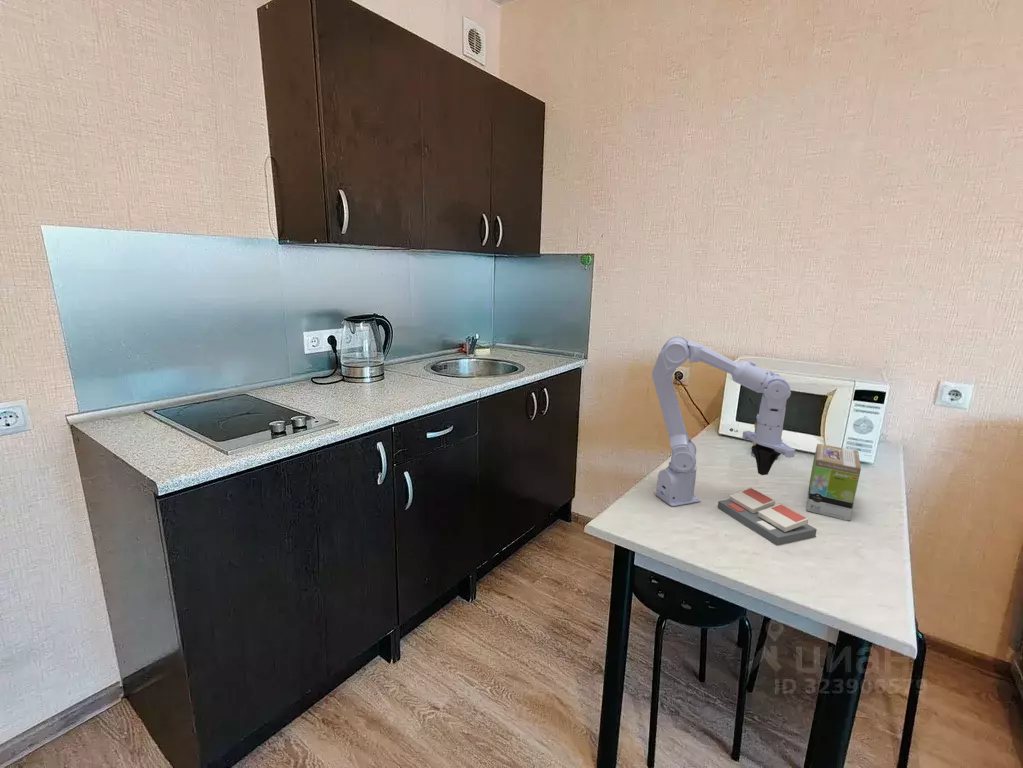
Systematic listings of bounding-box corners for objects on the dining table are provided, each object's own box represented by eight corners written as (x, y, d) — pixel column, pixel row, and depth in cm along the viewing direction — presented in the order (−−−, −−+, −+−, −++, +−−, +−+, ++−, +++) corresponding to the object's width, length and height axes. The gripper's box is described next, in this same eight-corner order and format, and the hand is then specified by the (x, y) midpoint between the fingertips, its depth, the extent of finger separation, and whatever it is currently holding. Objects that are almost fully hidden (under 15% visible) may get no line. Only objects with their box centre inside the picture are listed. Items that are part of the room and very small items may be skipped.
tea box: (851, 522, 126) (862, 467, 122) (805, 511, 131) (814, 458, 127) (849, 499, 138) (859, 449, 134) (807, 490, 143) (815, 441, 140)
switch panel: (776, 545, 114) (778, 535, 114) (717, 507, 132) (718, 498, 131) (815, 536, 118) (817, 526, 118) (753, 501, 136) (754, 492, 135)
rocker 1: (753, 513, 124) (753, 509, 124) (729, 499, 132) (729, 495, 131) (774, 504, 126) (774, 500, 126) (750, 491, 134) (750, 487, 133)
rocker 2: (785, 532, 116) (785, 527, 115) (757, 515, 123) (757, 511, 123) (807, 523, 118) (808, 518, 117) (779, 508, 125) (779, 503, 125)
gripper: (807, 431, 120) (798, 483, 123) (759, 413, 133) (753, 461, 136) (785, 433, 117) (777, 487, 120) (738, 416, 130) (732, 464, 134)
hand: (762, 473), depth 128 cm, fingers closed
